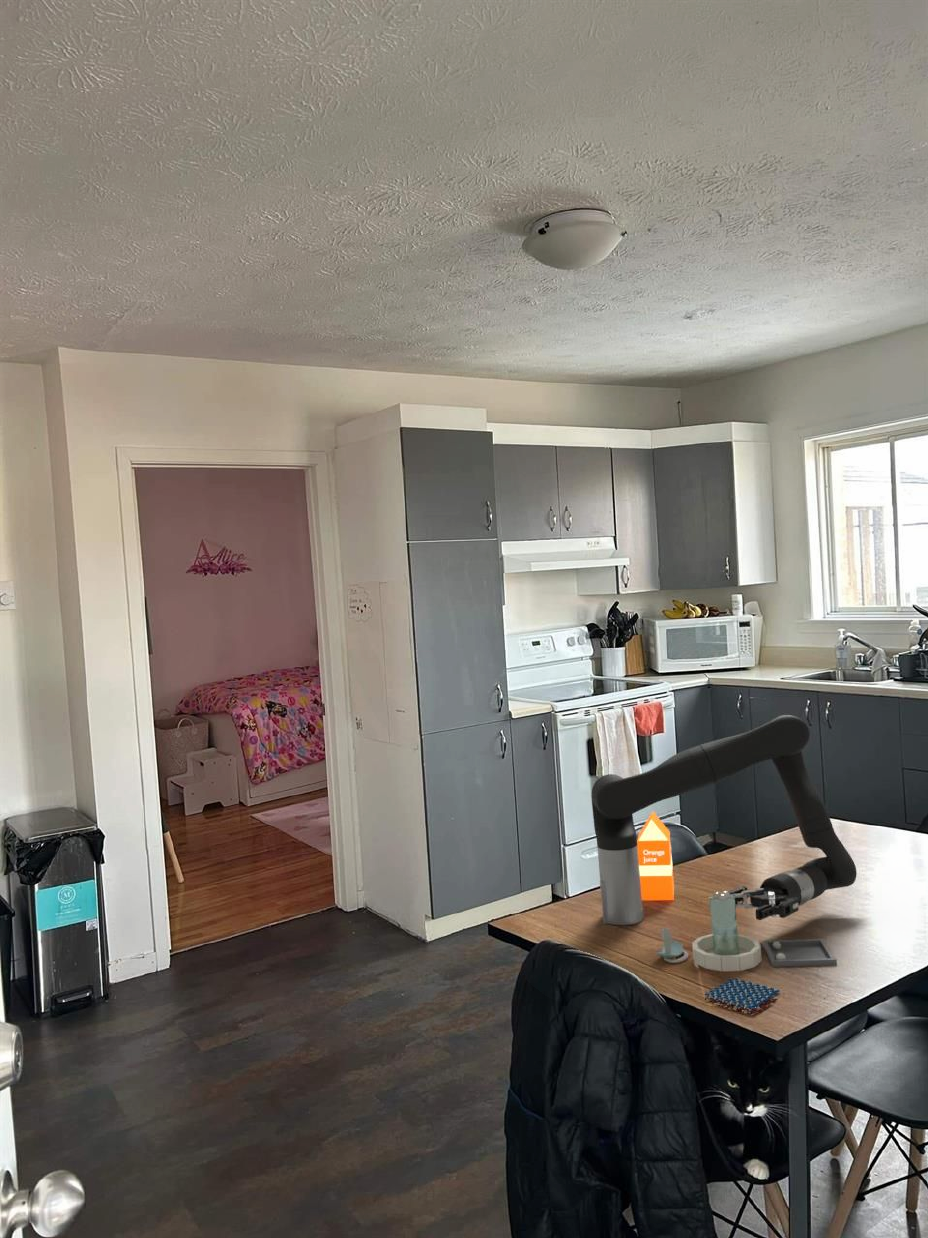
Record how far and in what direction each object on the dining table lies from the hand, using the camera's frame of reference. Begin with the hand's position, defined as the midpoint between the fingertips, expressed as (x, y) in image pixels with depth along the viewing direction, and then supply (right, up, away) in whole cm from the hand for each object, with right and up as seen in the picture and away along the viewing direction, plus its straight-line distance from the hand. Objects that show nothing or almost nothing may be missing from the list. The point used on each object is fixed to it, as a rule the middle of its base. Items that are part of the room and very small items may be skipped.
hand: (739, 910), depth 195 cm
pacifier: (-13, -11, +2) cm, 17 cm away
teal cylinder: (-3, -8, -3) cm, 10 cm away
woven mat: (-5, -11, -20) cm, 24 cm away
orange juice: (-8, -9, +43) cm, 44 cm away
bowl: (-3, -9, -3) cm, 10 cm away
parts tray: (+11, -8, -4) cm, 14 cm away
